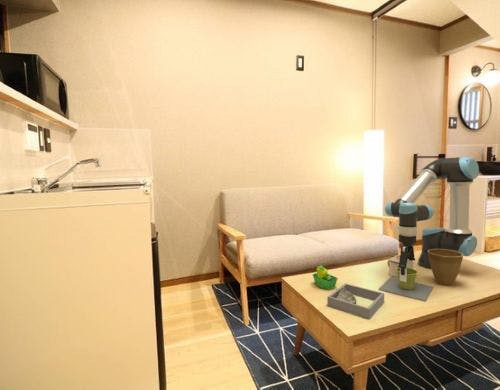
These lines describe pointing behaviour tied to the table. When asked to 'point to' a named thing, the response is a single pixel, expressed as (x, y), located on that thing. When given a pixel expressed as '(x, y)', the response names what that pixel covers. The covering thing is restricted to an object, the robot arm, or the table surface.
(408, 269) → the plant pot
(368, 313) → the rock display frame
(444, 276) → the plant pot
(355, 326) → the table surface
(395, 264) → the teacup with lid
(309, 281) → the table surface
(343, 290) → the rock sample
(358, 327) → the table surface
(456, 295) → the table surface
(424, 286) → the charcoal mat
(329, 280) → the fruit basket
